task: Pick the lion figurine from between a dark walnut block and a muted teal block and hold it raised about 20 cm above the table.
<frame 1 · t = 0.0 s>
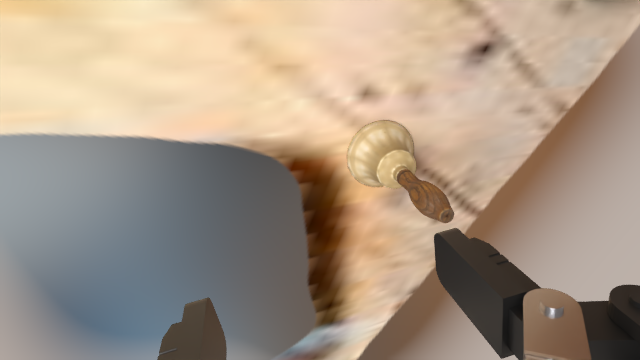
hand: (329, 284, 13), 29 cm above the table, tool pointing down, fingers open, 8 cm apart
hand bell: (379, 153, 44), on the table
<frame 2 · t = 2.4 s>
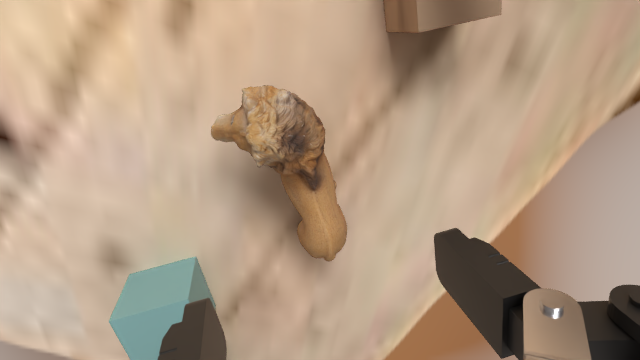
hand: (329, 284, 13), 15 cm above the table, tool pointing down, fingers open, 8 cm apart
lion figurine: (289, 160, 27), on the table
teal block: (174, 289, 29), on the table
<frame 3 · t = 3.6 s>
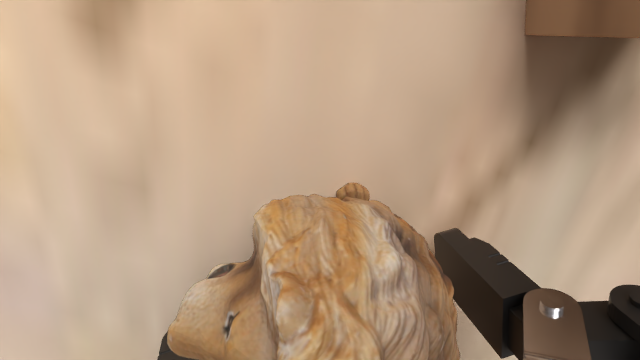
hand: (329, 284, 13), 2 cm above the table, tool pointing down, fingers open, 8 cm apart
lion figurine: (331, 273, 15), on the table
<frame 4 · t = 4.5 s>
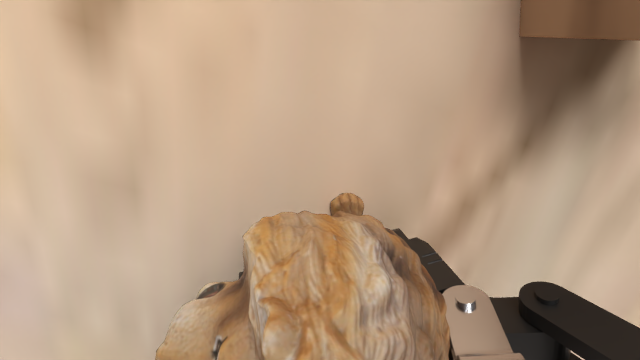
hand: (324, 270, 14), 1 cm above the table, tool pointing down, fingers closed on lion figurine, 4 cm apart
lion figurine: (326, 282, 15), on the table, touching gripper
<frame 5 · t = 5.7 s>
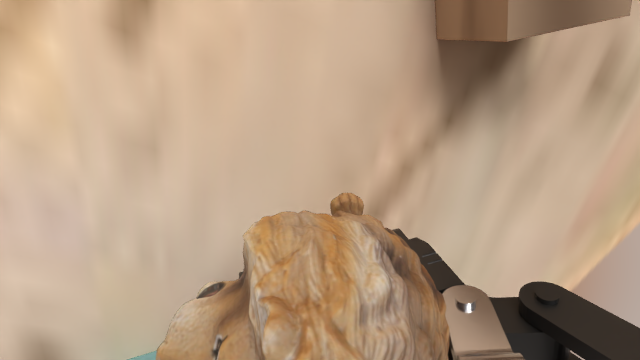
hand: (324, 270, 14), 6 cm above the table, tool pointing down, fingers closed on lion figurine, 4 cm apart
lion figurine: (326, 282, 15), point 5 cm above the table, touching gripper
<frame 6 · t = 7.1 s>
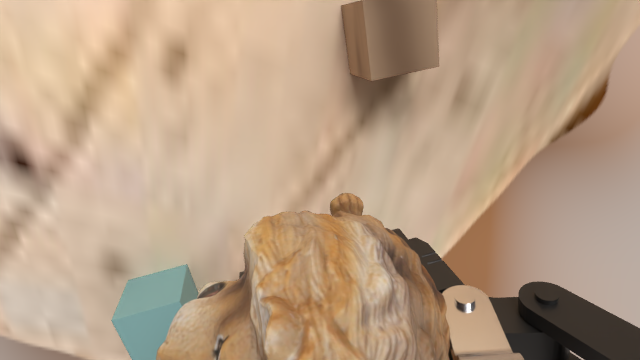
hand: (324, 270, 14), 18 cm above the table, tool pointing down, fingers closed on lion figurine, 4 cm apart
lion figurine: (325, 283, 15), point 17 cm above the table, touching gripper
walnut block: (375, 34, 29), on the table
teal block: (167, 293, 33), on the table
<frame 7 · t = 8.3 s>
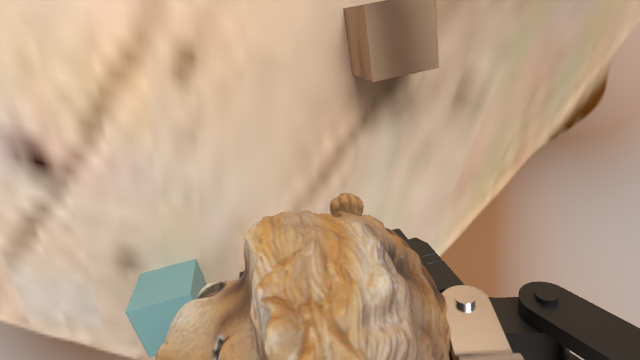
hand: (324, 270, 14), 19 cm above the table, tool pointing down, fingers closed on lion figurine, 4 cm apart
lion figurine: (325, 283, 15), point 18 cm above the table, touching gripper
walnut block: (377, 36, 30), on the table
teal block: (177, 287, 35), on the table
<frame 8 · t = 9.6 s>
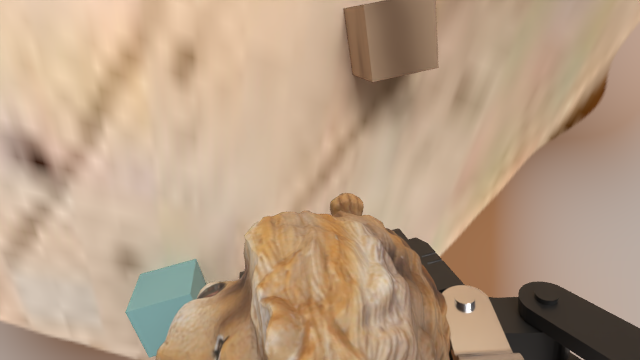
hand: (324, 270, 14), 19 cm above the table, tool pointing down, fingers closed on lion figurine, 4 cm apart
lion figurine: (325, 283, 15), point 18 cm above the table, touching gripper
walnut block: (377, 36, 30), on the table
teal block: (177, 287, 35), on the table
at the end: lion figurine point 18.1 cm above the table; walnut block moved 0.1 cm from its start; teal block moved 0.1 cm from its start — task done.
